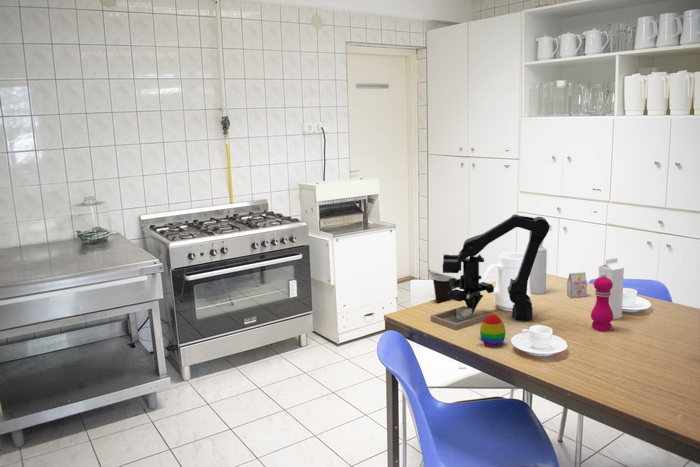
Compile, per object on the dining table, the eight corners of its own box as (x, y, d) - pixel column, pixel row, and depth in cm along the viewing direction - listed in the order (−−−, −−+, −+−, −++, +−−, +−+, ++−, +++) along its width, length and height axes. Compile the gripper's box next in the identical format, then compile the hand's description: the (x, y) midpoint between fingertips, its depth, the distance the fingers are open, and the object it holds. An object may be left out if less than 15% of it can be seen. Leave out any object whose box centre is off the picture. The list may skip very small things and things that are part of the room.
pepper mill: (613, 326, 203) (615, 271, 199) (612, 332, 196) (615, 276, 193) (590, 323, 206) (592, 269, 202) (589, 330, 199) (591, 274, 196)
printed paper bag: (566, 295, 240) (567, 272, 238) (582, 294, 241) (582, 271, 239) (571, 298, 237) (571, 274, 235) (586, 296, 237) (587, 273, 236)
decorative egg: (510, 342, 191) (510, 314, 190) (496, 350, 186) (496, 320, 184) (488, 337, 197) (488, 309, 195) (475, 344, 192) (475, 315, 190)
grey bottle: (548, 291, 246) (549, 234, 242) (541, 295, 242) (542, 237, 237) (533, 289, 251) (534, 233, 246) (526, 292, 246) (527, 235, 242)
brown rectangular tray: (489, 323, 211) (489, 314, 210) (456, 334, 201) (455, 324, 201) (463, 314, 221) (463, 306, 221) (430, 324, 212) (430, 315, 211)
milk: (596, 316, 214) (598, 258, 210) (608, 313, 216) (610, 256, 212) (610, 320, 208) (612, 261, 204) (622, 317, 211) (624, 259, 207)
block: (472, 318, 212) (472, 308, 211) (464, 321, 210) (464, 310, 209) (464, 316, 215) (464, 306, 214) (456, 318, 213) (456, 308, 212)
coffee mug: (448, 305, 233) (447, 282, 231) (429, 302, 238) (429, 279, 237) (461, 298, 242) (461, 275, 240) (442, 295, 247) (442, 273, 246)
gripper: (472, 265, 223) (473, 303, 226) (437, 273, 213) (437, 313, 216) (494, 270, 214) (494, 310, 217) (458, 279, 204) (459, 321, 207)
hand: (471, 313), depth 214 cm, fingers closed
